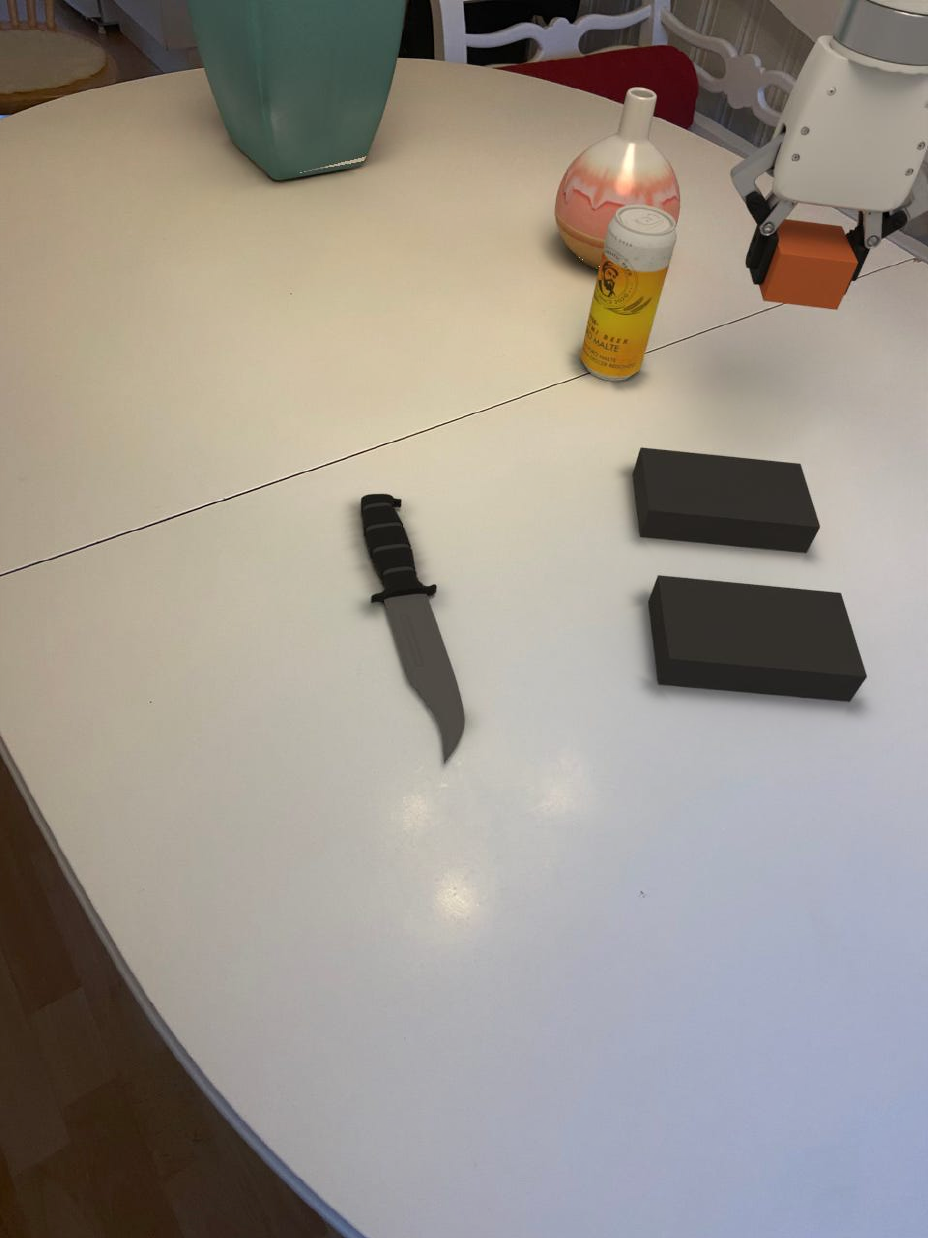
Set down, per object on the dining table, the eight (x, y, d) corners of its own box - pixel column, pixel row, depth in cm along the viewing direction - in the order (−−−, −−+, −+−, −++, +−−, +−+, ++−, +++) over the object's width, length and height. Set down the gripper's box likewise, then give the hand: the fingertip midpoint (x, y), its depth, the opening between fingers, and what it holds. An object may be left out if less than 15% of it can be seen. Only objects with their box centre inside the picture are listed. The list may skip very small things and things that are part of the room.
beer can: (566, 360, 92) (596, 211, 81) (608, 342, 95) (643, 196, 84) (610, 391, 89) (647, 241, 78) (652, 371, 92) (694, 224, 81)
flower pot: (330, 113, 126) (327, -153, 105) (408, 173, 116) (422, -107, 95) (191, 135, 118) (157, -150, 96) (263, 202, 107) (242, -99, 86)
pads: (788, 489, 82) (800, 463, 80) (849, 702, 67) (867, 676, 64) (632, 473, 81) (640, 446, 79) (658, 684, 66) (669, 658, 64)
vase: (522, 248, 106) (547, 80, 93) (602, 219, 113) (636, 59, 100) (609, 301, 100) (649, 130, 87) (688, 268, 107) (736, 104, 94)
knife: (497, 747, 59) (421, 762, 58) (494, 761, 60) (420, 775, 59) (404, 489, 75) (342, 496, 73) (403, 504, 76) (342, 511, 75)
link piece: (822, 272, 77) (842, 225, 74) (837, 310, 73) (858, 262, 70) (752, 263, 77) (768, 216, 74) (763, 300, 73) (780, 252, 70)
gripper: (1003, 28, 64) (888, 271, 78) (758, -5, 64) (686, 246, 77) (1041, 66, 59) (911, 319, 73) (775, 31, 59) (695, 292, 72)
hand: (796, 279), depth 75 cm, fingers closed on link piece, 6 cm apart
